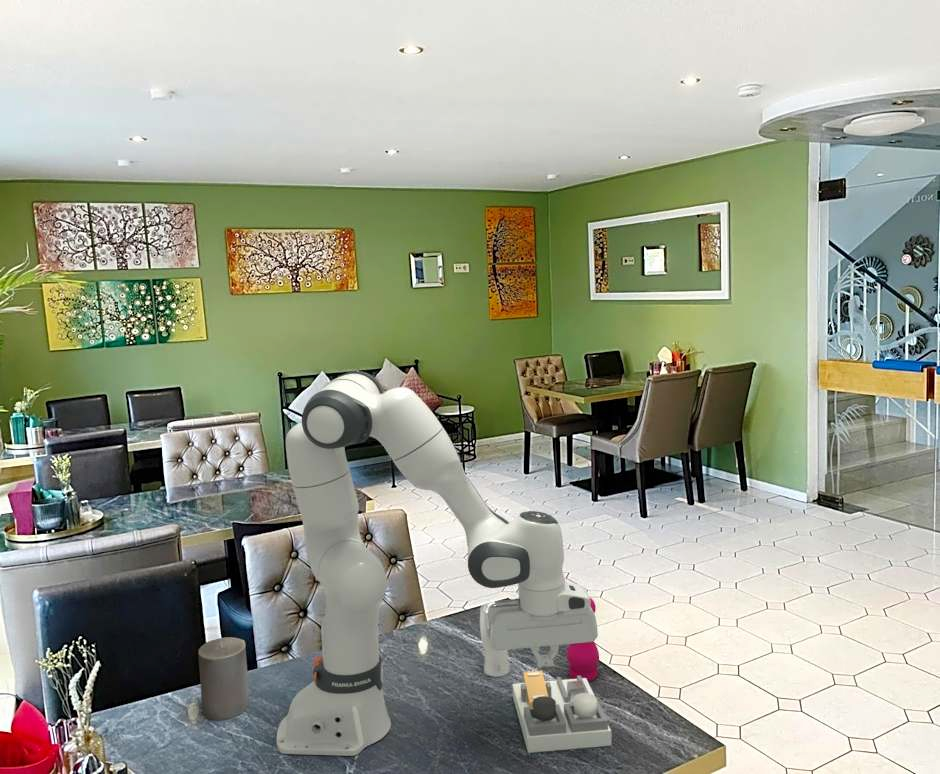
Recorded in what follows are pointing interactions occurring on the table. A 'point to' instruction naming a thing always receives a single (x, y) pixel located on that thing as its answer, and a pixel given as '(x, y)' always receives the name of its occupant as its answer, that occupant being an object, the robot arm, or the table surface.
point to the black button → (544, 708)
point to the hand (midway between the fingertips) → (545, 665)
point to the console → (560, 721)
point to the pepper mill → (583, 657)
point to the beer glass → (492, 648)
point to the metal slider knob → (574, 689)
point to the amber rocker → (534, 685)
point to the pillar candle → (223, 678)
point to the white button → (585, 705)
